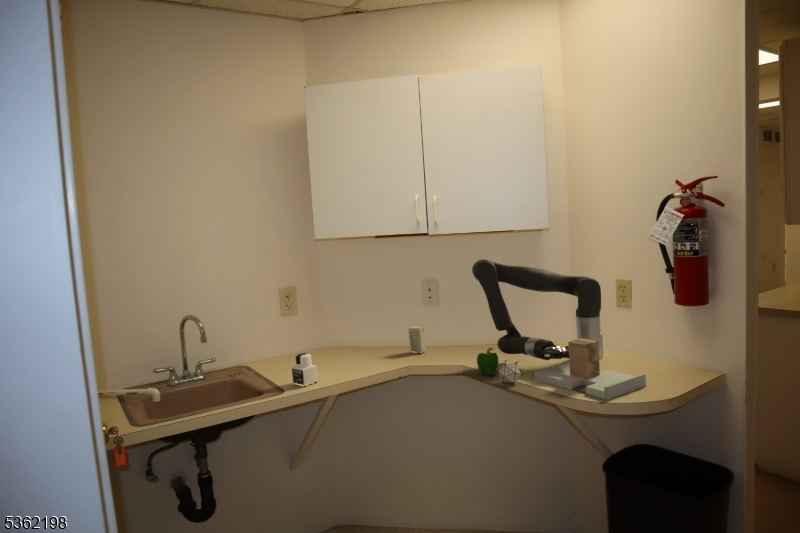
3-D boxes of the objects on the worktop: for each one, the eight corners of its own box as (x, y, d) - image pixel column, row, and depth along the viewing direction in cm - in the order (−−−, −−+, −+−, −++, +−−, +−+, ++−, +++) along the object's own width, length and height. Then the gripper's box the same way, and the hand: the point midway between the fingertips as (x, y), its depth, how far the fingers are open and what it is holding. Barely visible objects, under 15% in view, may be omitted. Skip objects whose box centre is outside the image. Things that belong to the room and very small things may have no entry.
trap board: (571, 368, 198) (571, 358, 198) (646, 385, 172) (645, 374, 171) (534, 379, 188) (533, 368, 188) (607, 399, 161) (606, 387, 161)
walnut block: (583, 371, 185) (581, 338, 184) (599, 374, 179) (598, 341, 178) (570, 375, 182) (568, 341, 181) (586, 379, 176) (584, 344, 175)
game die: (510, 394, 184) (499, 377, 179) (499, 380, 192) (488, 363, 187) (530, 380, 184) (520, 363, 180) (519, 367, 192) (509, 349, 187)
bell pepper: (483, 378, 194) (481, 352, 193) (474, 373, 202) (472, 348, 201) (503, 375, 196) (502, 349, 195) (494, 369, 204) (492, 345, 203)
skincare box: (426, 352, 242) (424, 326, 241) (421, 354, 238) (420, 328, 237) (414, 351, 245) (412, 325, 244) (410, 353, 242) (408, 327, 241)
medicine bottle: (293, 385, 204) (290, 355, 203) (307, 380, 210) (304, 351, 209) (304, 387, 200) (301, 357, 199) (318, 382, 205) (315, 353, 204)
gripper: (526, 341, 194) (562, 349, 179) (551, 336, 201) (587, 342, 186) (527, 361, 195) (563, 370, 180) (552, 354, 201) (588, 363, 187)
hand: (576, 356), depth 183 cm, fingers closed
